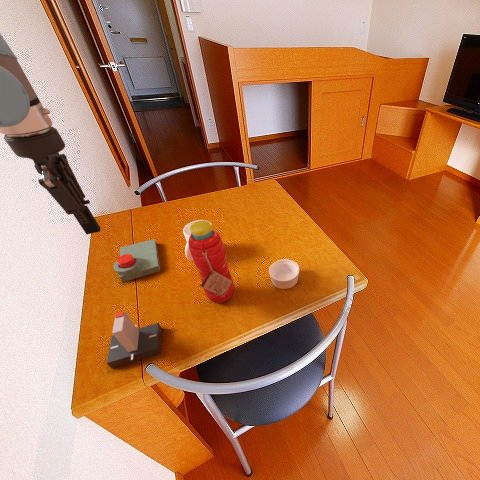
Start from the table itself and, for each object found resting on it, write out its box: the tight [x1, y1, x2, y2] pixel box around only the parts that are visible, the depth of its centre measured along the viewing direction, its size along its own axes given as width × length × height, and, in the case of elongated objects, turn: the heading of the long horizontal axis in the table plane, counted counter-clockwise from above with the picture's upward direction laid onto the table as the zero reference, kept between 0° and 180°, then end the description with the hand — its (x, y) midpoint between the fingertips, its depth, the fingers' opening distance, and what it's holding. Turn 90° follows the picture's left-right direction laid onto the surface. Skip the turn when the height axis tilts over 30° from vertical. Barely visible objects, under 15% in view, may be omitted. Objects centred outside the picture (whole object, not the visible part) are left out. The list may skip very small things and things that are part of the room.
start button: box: [116, 254, 135, 268], centre depth 80 cm, size 4×4×2 cm
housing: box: [113, 238, 161, 283], centre depth 85 cm, size 14×11×4 cm
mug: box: [182, 219, 213, 262], centre depth 86 cm, size 12×8×10 cm
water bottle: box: [188, 220, 235, 304], centre depth 68 cm, size 12×8×25 cm, turn 18°
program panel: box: [106, 322, 163, 369], centre depth 64 cm, size 10×9×3 cm
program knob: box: [111, 311, 139, 352], centre depth 61 cm, size 5×2×8 cm, turn 22°
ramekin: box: [268, 258, 300, 290], centre depth 81 cm, size 9×9×4 cm
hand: (93, 231), depth 65 cm, fingers closed
